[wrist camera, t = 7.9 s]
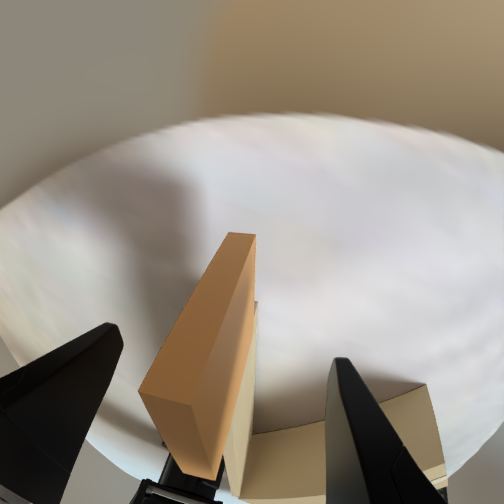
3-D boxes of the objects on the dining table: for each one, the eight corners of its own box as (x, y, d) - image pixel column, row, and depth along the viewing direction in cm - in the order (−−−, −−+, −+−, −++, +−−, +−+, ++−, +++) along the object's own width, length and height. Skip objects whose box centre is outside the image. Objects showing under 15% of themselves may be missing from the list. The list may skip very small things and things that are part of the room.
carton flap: (254, 436, 22) (234, 528, 14) (243, 434, 22) (222, 525, 14) (265, 210, 13) (191, 405, 4) (242, 209, 13) (137, 390, 4)
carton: (300, 466, 26) (294, 518, 19) (252, 434, 23) (238, 499, 16) (437, 428, 20) (448, 486, 13) (426, 384, 17) (444, 464, 10)
